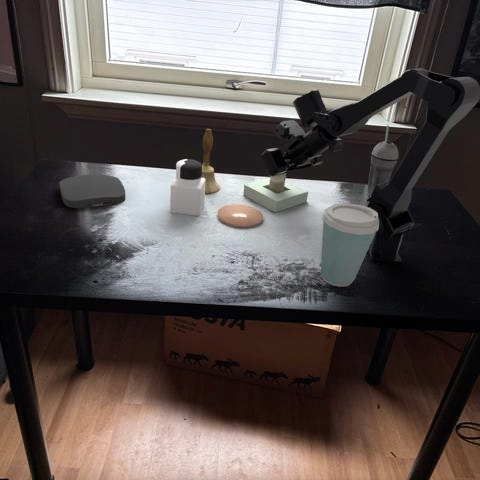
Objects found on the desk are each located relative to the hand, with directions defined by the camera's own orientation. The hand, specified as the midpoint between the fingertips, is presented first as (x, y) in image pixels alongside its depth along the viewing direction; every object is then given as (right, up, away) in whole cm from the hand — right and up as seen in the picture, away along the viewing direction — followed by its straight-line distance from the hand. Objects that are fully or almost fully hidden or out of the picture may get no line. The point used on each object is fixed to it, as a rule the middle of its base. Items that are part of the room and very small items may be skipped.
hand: (274, 171), depth 123 cm
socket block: (0, -7, +3) cm, 7 cm away
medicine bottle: (-22, -10, -7) cm, 25 cm away
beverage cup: (+29, -5, +11) cm, 32 cm away
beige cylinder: (0, -7, +3) cm, 7 cm away
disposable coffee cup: (+10, -25, -28) cm, 40 cm away
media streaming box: (-46, -7, -5) cm, 47 cm away
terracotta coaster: (-9, -12, -9) cm, 18 cm away
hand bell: (-19, -4, +5) cm, 20 cm away
